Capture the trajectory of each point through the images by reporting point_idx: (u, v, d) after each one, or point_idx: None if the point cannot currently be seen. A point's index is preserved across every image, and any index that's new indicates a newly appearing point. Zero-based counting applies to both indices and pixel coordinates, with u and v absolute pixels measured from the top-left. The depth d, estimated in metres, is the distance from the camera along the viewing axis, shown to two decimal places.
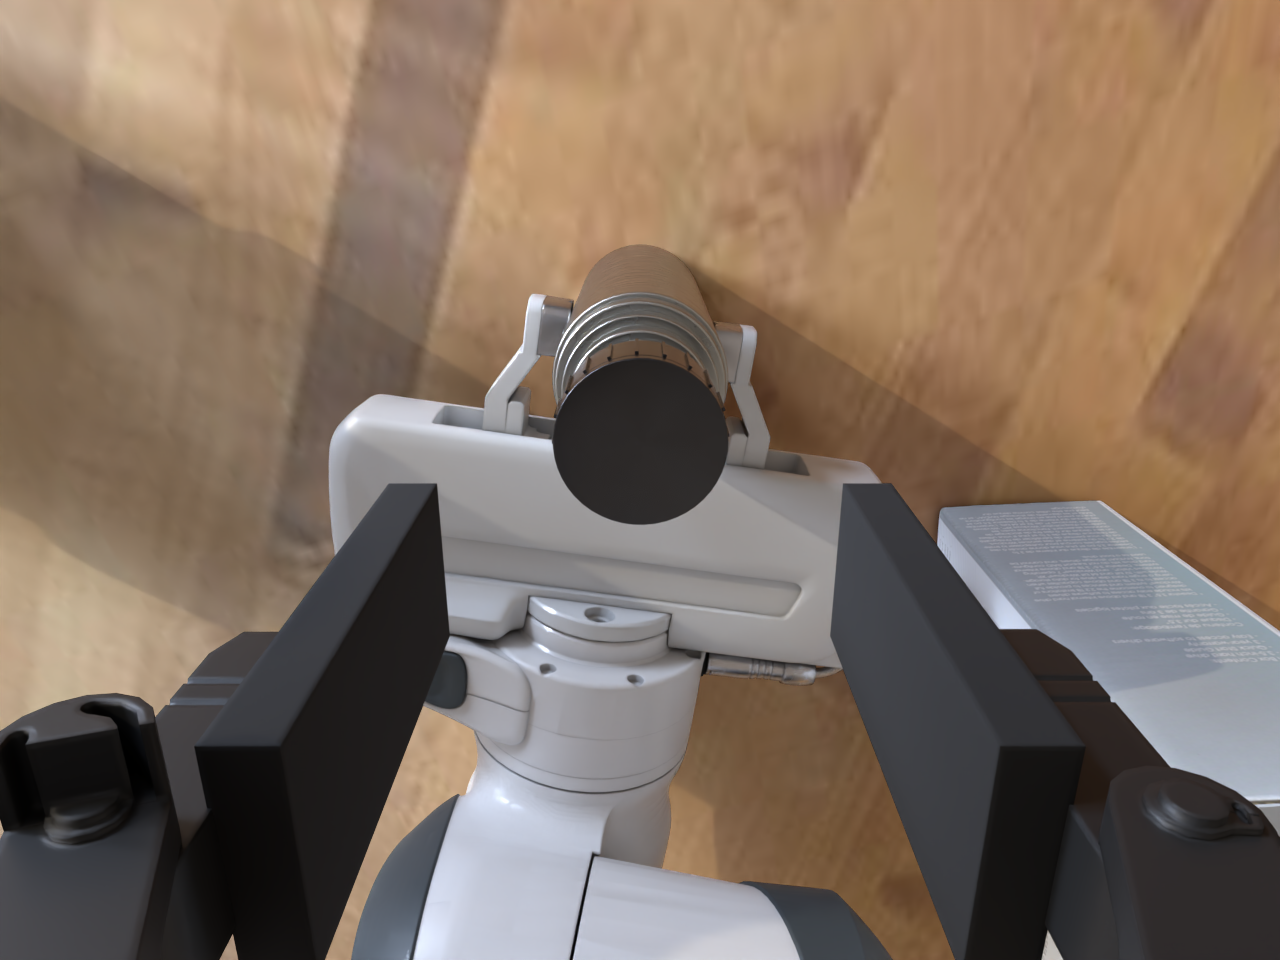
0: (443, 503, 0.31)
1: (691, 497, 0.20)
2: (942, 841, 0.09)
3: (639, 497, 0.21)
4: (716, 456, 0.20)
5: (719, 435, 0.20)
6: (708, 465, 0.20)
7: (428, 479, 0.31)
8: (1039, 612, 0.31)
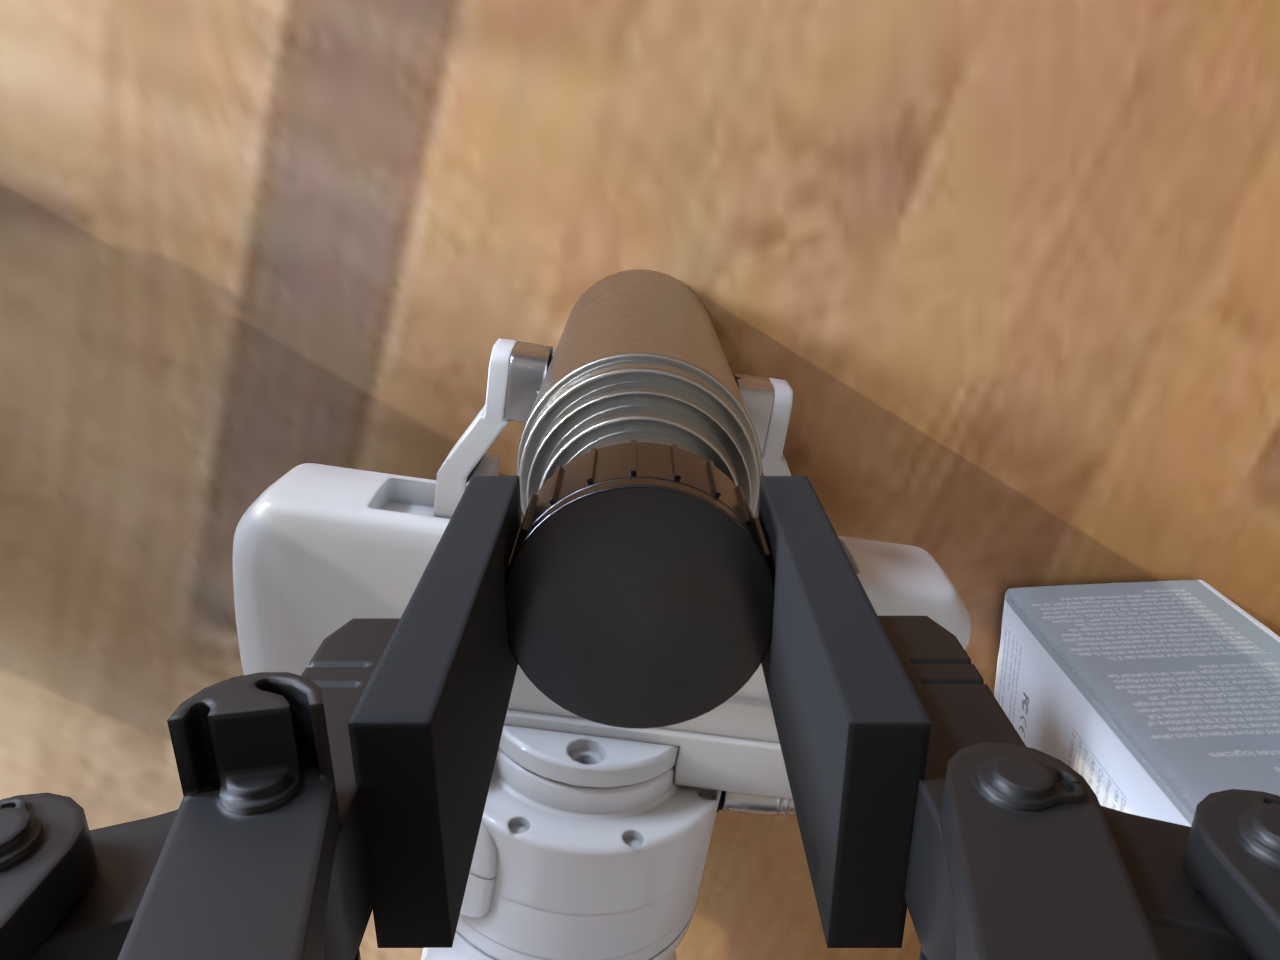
0: (383, 610, 0.24)
1: (718, 690, 0.13)
2: (816, 818, 0.10)
3: (637, 690, 0.13)
4: (758, 631, 0.13)
5: (763, 600, 0.13)
6: (745, 644, 0.13)
7: (363, 580, 0.24)
8: (1161, 756, 0.23)
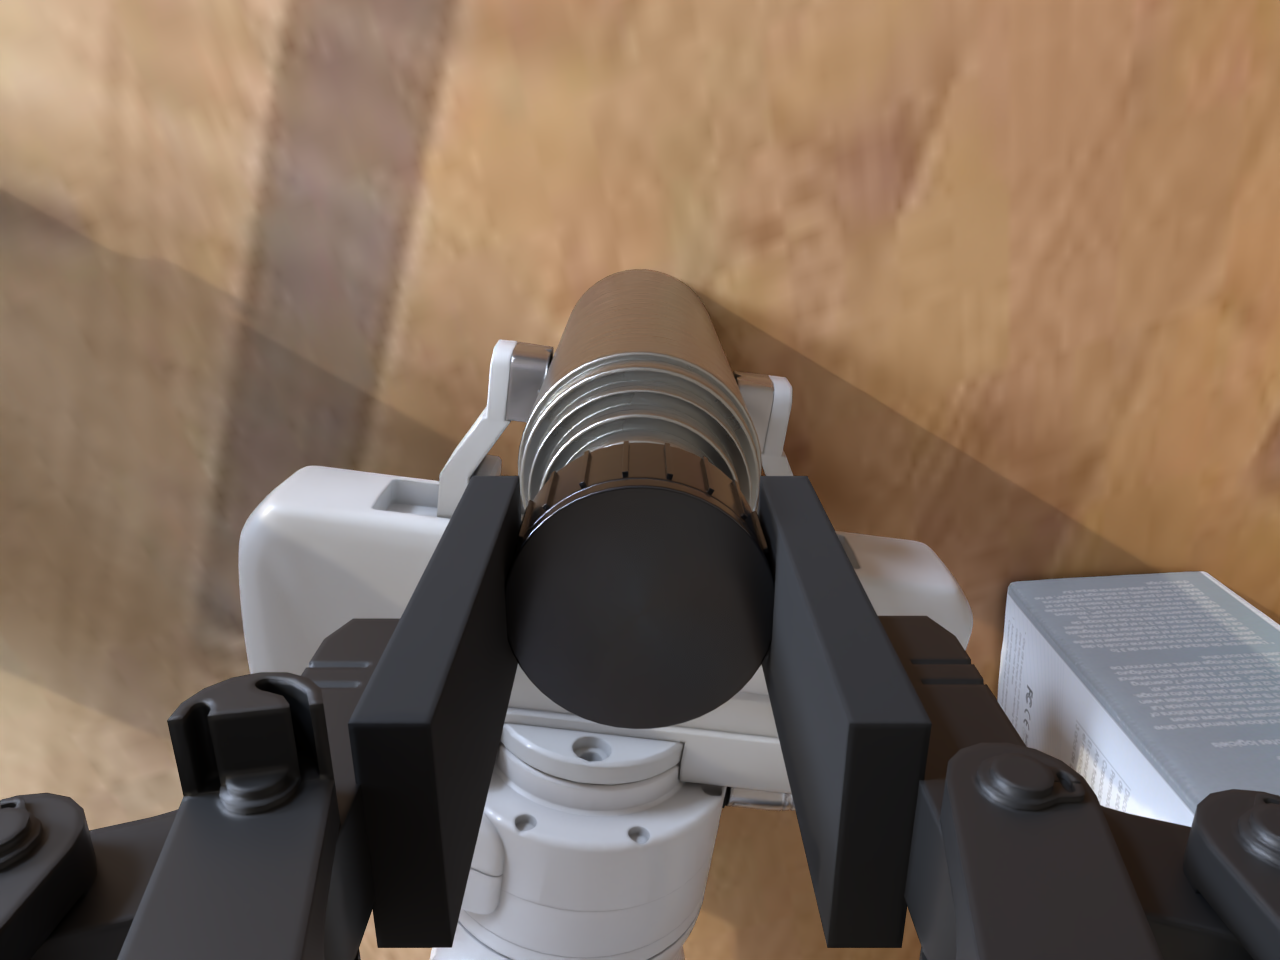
0: (388, 610, 0.24)
1: (657, 504, 0.12)
2: (817, 818, 0.10)
3: (711, 564, 0.13)
4: (576, 518, 0.12)
5: (547, 536, 0.12)
6: (596, 517, 0.12)
7: (368, 581, 0.24)
8: (1164, 747, 0.23)
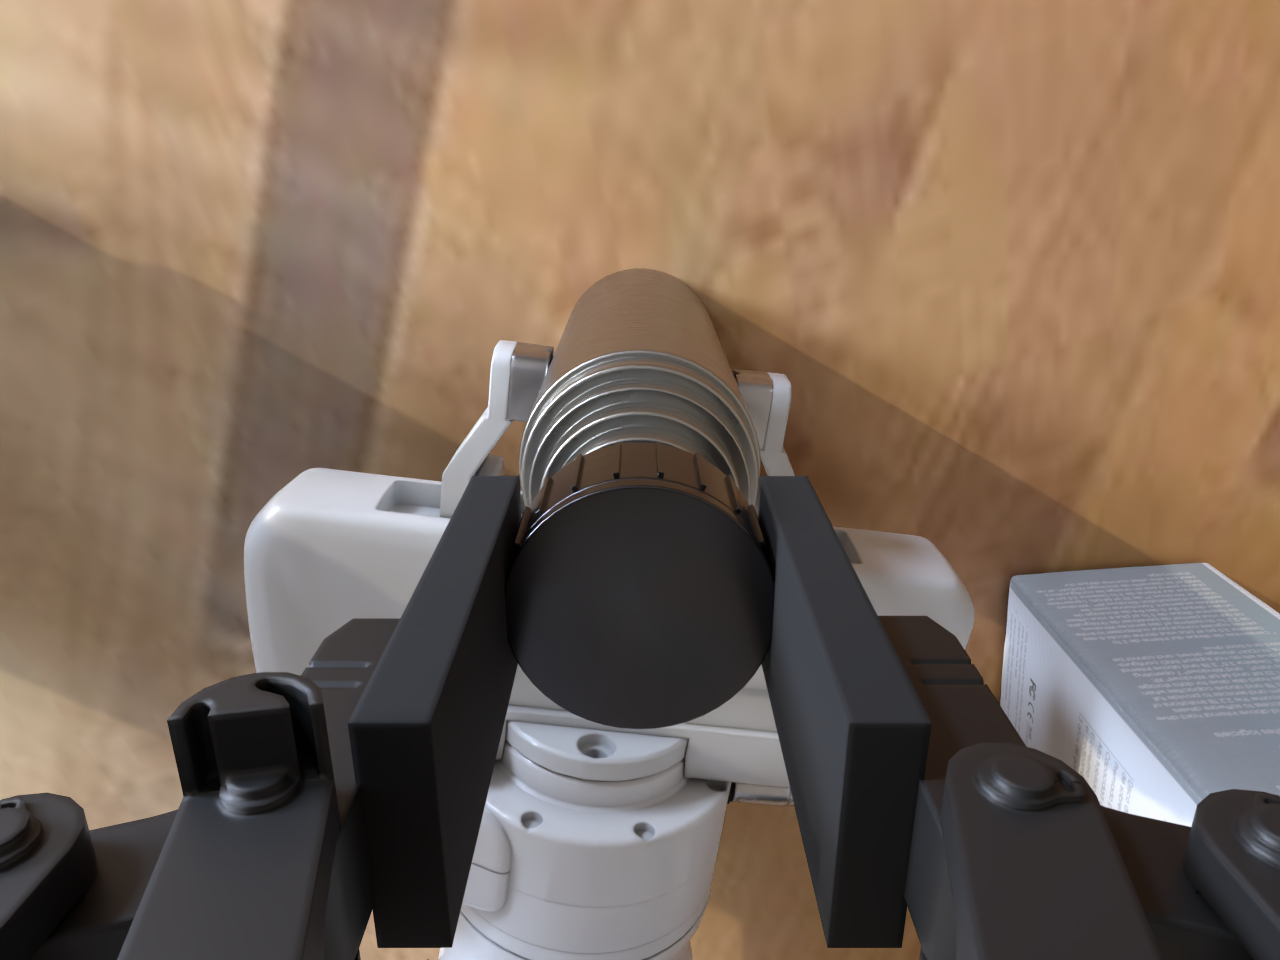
0: (393, 610, 0.25)
1: (540, 670, 0.13)
2: (816, 818, 0.10)
3: (552, 598, 0.13)
4: (600, 711, 0.13)
5: (631, 718, 0.13)
6: (587, 698, 0.13)
7: (372, 582, 0.24)
8: (1166, 738, 0.24)
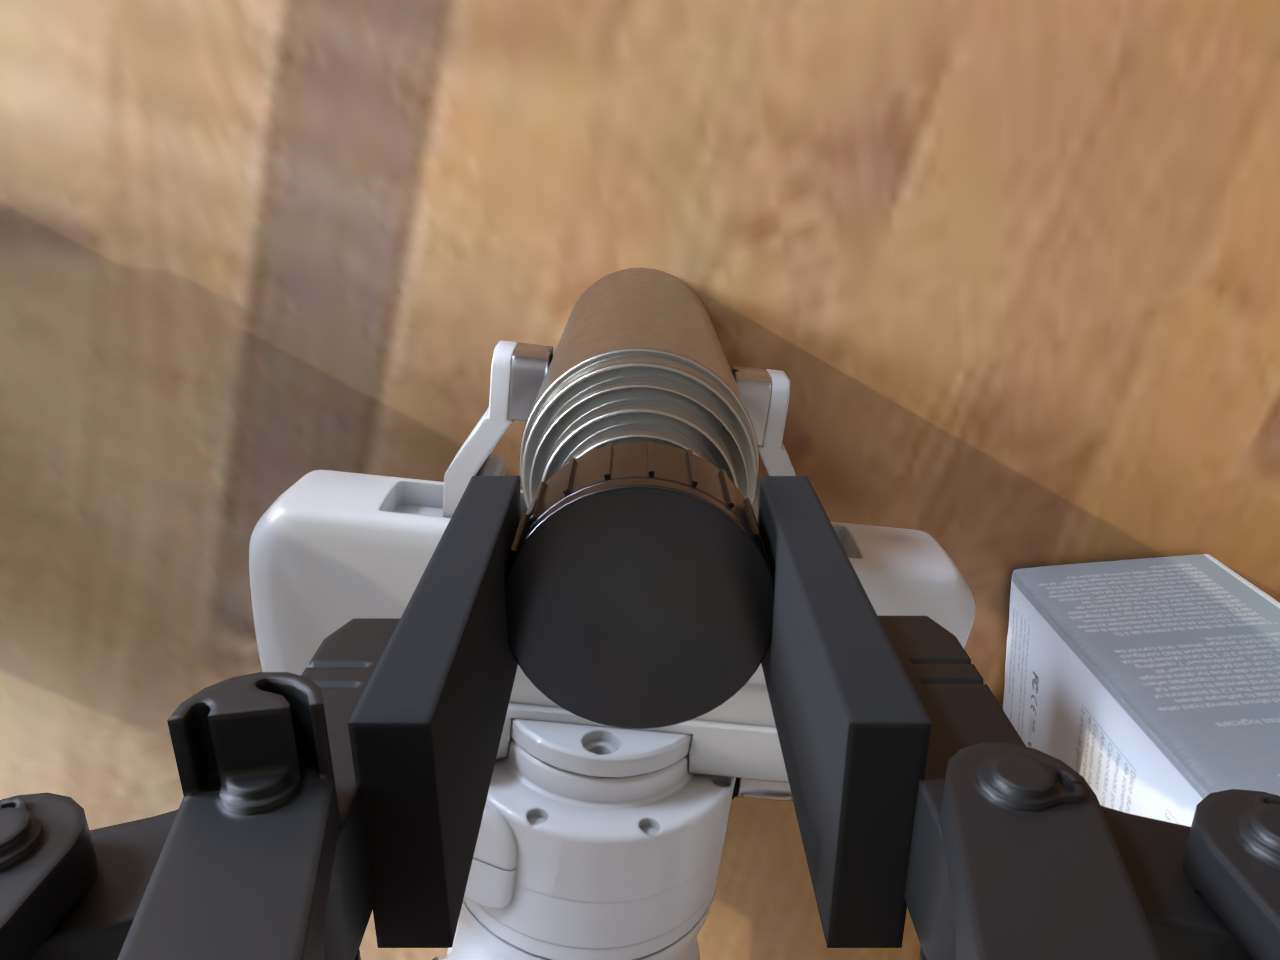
0: (397, 610, 0.25)
1: (751, 648, 0.13)
2: (816, 818, 0.10)
3: (679, 681, 0.13)
4: (755, 578, 0.13)
5: (742, 548, 0.12)
6: (751, 595, 0.13)
7: (376, 582, 0.24)
8: (1168, 728, 0.24)
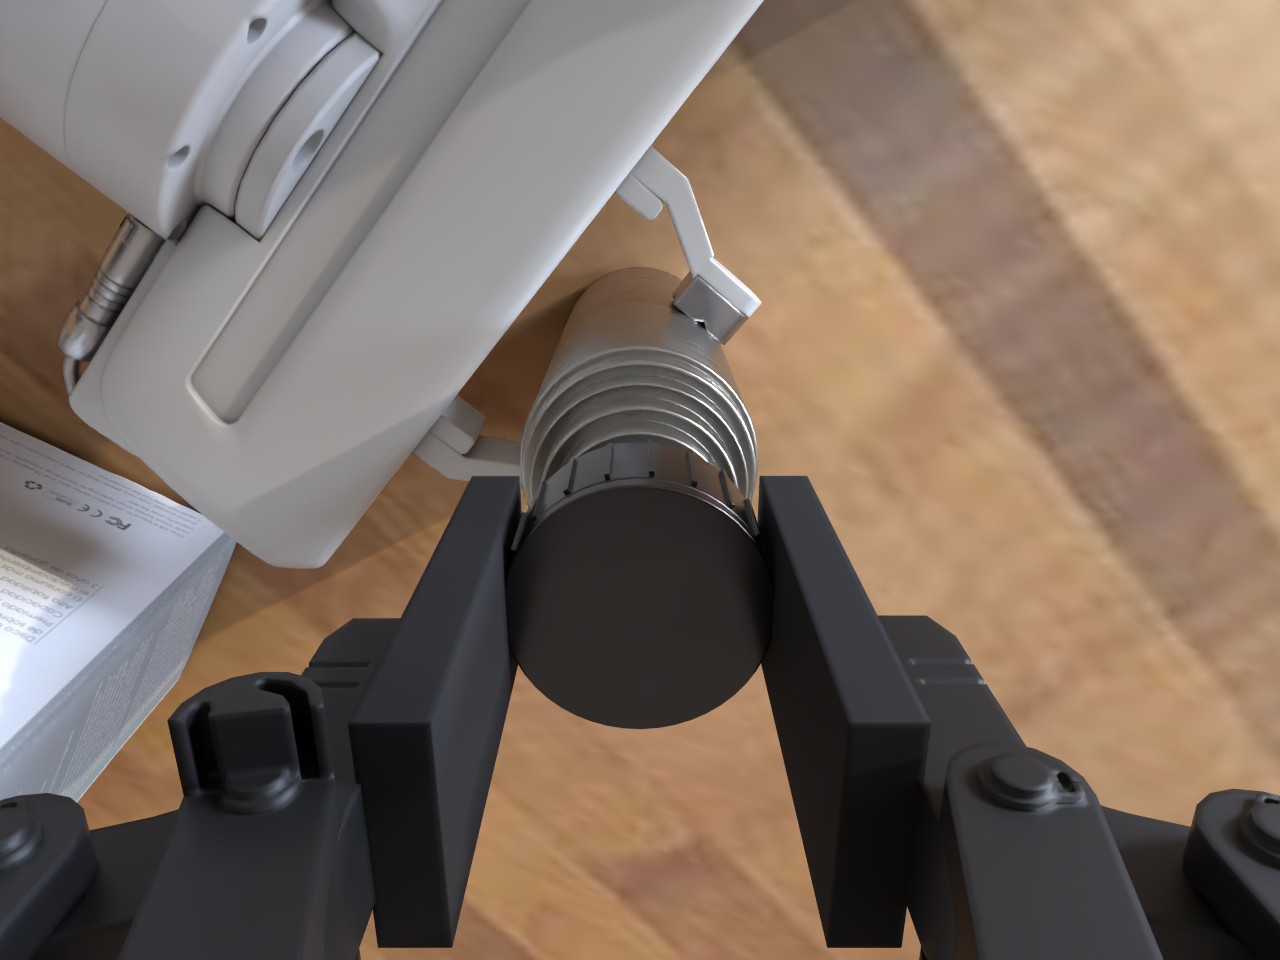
0: (587, 26, 0.20)
1: (751, 648, 0.13)
2: (816, 818, 0.10)
3: (679, 682, 0.13)
4: (755, 578, 0.13)
5: (743, 548, 0.12)
6: (751, 595, 0.13)
7: (632, 30, 0.20)
8: (86, 694, 0.23)
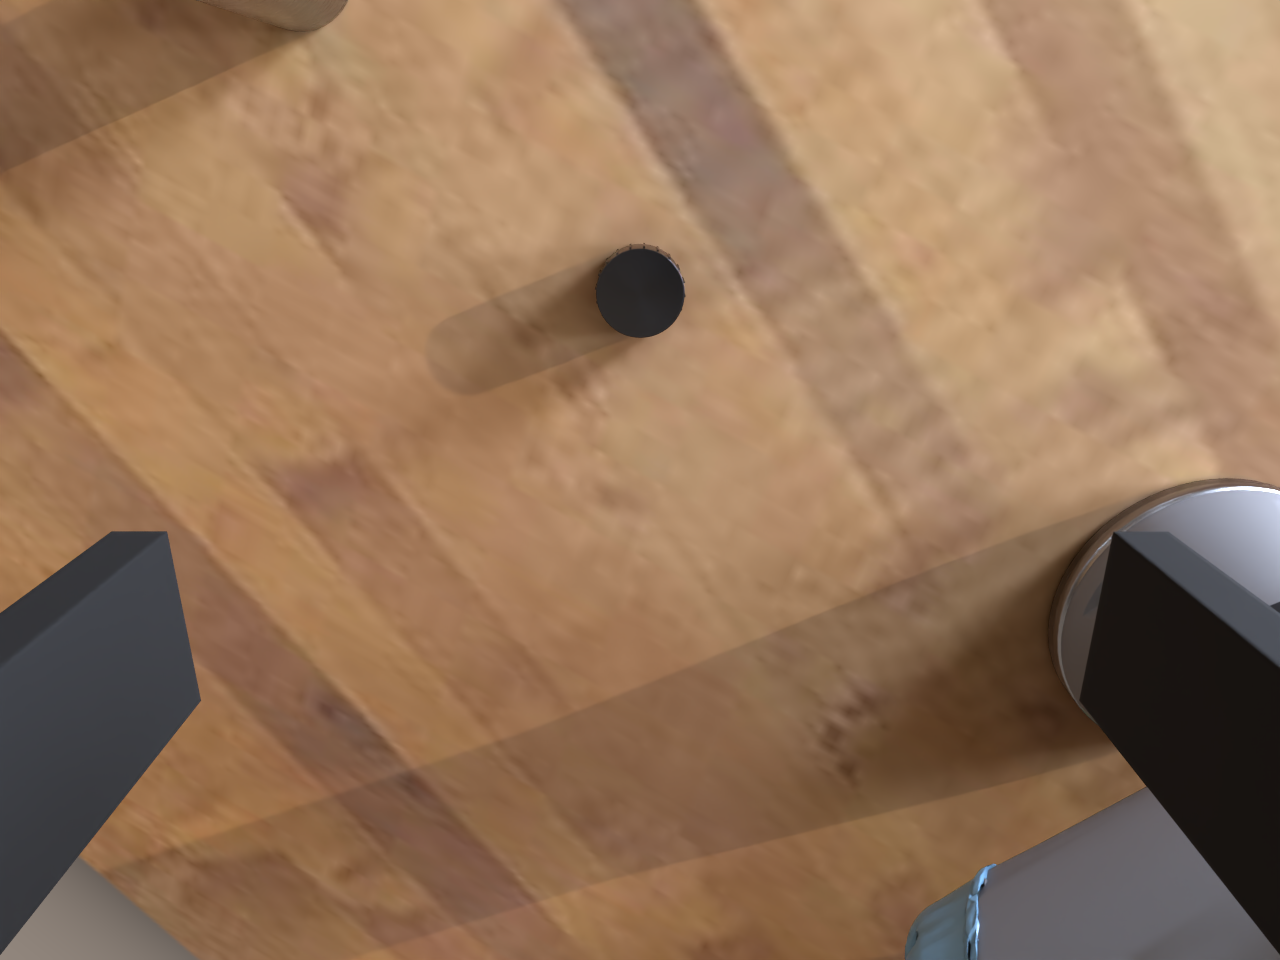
0: None
1: (676, 306, 0.40)
2: None
3: (653, 319, 0.40)
4: (677, 280, 0.40)
5: (673, 270, 0.40)
6: (676, 287, 0.40)
7: None
8: None
